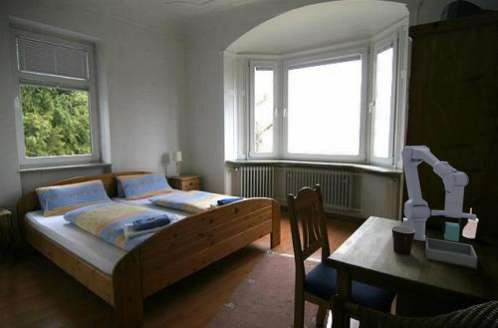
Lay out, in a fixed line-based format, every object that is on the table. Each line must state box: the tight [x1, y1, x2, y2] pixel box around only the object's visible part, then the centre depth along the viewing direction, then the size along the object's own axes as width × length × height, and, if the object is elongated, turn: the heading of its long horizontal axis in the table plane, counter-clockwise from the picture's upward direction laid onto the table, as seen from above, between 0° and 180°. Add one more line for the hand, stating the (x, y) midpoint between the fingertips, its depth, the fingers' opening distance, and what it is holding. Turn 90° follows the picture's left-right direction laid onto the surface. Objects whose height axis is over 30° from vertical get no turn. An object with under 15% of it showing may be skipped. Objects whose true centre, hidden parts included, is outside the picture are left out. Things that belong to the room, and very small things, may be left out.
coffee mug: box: [391, 225, 415, 256], centre depth 118 cm, size 12×9×10 cm
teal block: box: [443, 221, 460, 242], centre depth 115 cm, size 4×4×6 cm
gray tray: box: [425, 237, 479, 269], centre depth 115 cm, size 16×14×4 cm
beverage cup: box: [462, 207, 479, 239], centre depth 135 cm, size 6×6×14 cm
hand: (451, 234), depth 115 cm, fingers closed on teal block, 4 cm apart
